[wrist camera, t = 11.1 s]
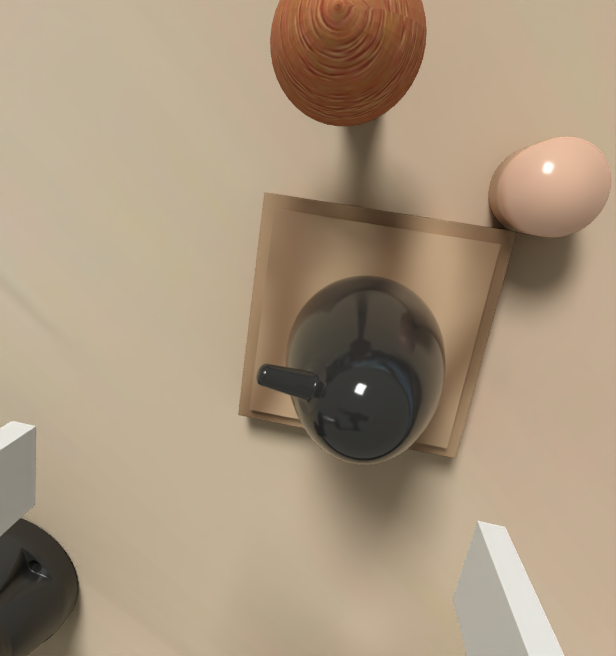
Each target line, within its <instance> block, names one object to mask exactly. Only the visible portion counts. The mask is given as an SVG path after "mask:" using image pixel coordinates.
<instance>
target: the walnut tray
mask: <svg viewBox="0 0 616 656" xmlns="http://www.w3.org/2000/svg"><path fill="white" fill-rule="evenodd" d="M516 233H517V232H514V231H508V230H502V229H496V228H489V227H483V226H477V225H470V224H464V223H458V222H451V221H445V220H438V219H432V218H426V217H419V216H413V215H406V214H400V213H394V212H387V211H381V210H374V209H368V208H362V207H355V206H349V205H342V204H336V203H330V202H323V201H317V200H310V199H304V198H298V197H291V196H285V195H278V194H272V193H264V201H263V209H262V218H261V226H260V235H259V243H258V252H257V260H256V269H255V277H254V285H253V294H252V302H251V311H250V319H249V328H248V336H247V345H246V353H245V362H244V370H243V379H242V387H241V395H240V404H239V412H238V415H241V416H246V417H251V418H256V419H261V420H266V421H271V422H276V423H281V424H286V425H291V426H296V427H301V428H304V427H303V425H302V424H301V422H300V420H299V418H298V416H297V414H296V411H295V409H294V406H293V403H292V401H291V397H290V395H287V394H284V393H281V392H278V391H275V390H272V389H269V388H266V387H263V386H260V385H258V384H257V381H256V374H257V371H258V369H259V367H260V366H261V365H262V364H265V363H267V364H273V365H278V366H284V367H286V351H287V344H288V339H289V335H290V331H291V328H292V326H293V323H294V321H295V319H296V317H297V315H298V313H299V312H300V310H301V309H302V307H303V306H304V305H305V303H306V302H307V301H308V300H309V299H310V298H311V297H312V296H313V295H314V294H315V293H317V292H318V291H319V290H321V289H322V288H324V287H325V286H327V285H329V284H331V283H333V282H335V281H338V280H340V279H344V278H348V277H353V276H363V275H368V276H379V277H384V278H387V279H391V280H393V281H396V282H398V283H400V284H402V285H404V286H406V287H408V288H409V289H411V290H412V291H413V292H415V293H416V294H417V295H418V296H419V297H420V298H421V299H422V300H423V301H424V302H425V303H426V304H427V306H428V307H429V308H430V310H431V311H432V313H433V315H434V316H435V318H436V320H437V322H438V325H439V327H440V330H441V333H442V337H443V341H444V348H445V361H446V370H445V381H444V387H443V392H442V396H441V399H440V402H439V405H438V407H437V410H436V412H435V414H434V416H433V418H432V420H431V421H430V423H429V425H428V426H427V428H426V429H425V430H424V432H423V433H422V434H421V436H420V437H419V438H418V439H417V440H416V441H415V442H414V443H413V444H412V445H411V446H410V447H409V448H408V449H412V450H417V451H422V452H427V453H432V454H437V455H442V456H447V457H452V458H456V454H457V450H458V447H459V443H460V439H461V436H462V432H463V428H464V425H465V421H466V417H467V414H468V410H469V406H470V402H471V399H472V395H473V391H474V388H475V384H476V380H477V377H478V373H479V369H480V366H481V362H482V358H483V355H484V351H485V347H486V344H487V340H488V336H489V333H490V329H491V325H492V321H493V318H494V314H495V310H496V307H497V303H498V299H499V296H500V292H501V288H502V285H503V281H504V277H505V274H506V270H507V266H508V263H509V259H510V255H511V252H512V248H513V244H514V240H515V237H516Z"/></svg>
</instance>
